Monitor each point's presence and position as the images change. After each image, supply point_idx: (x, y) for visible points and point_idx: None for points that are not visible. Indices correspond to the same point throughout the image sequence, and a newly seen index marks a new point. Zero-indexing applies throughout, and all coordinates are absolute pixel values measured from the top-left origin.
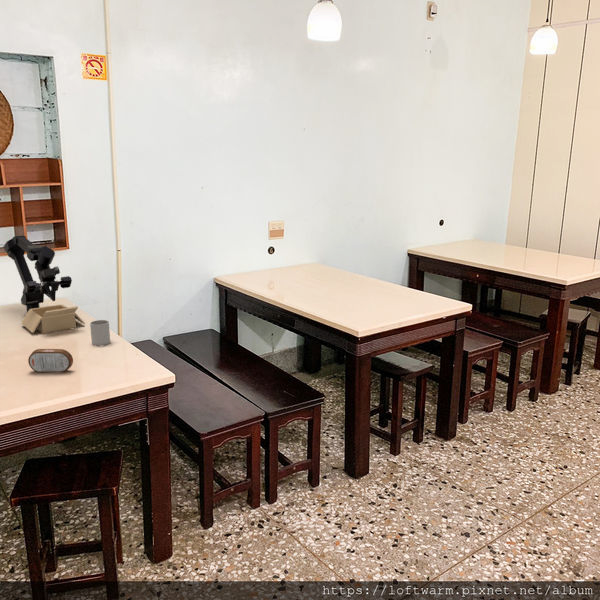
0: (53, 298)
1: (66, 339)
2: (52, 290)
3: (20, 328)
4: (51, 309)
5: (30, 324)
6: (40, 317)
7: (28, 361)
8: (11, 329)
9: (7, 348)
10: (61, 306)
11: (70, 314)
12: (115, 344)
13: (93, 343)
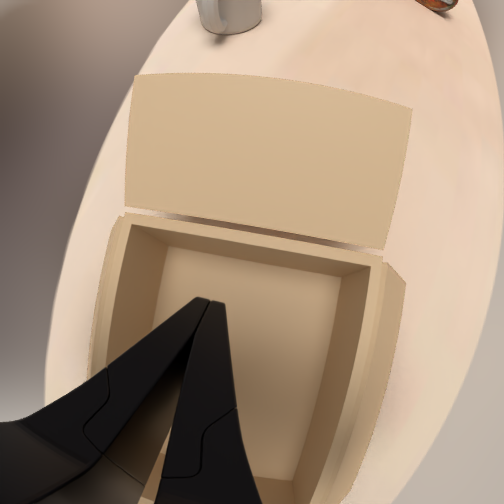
0: (211, 314)
1: None
2: (120, 448)
3: (370, 453)
4: None
5: (384, 375)
6: (378, 288)
7: (457, 1)
8: (402, 459)
9: (500, 190)
10: None
11: (156, 217)
12: None
13: (261, 12)
